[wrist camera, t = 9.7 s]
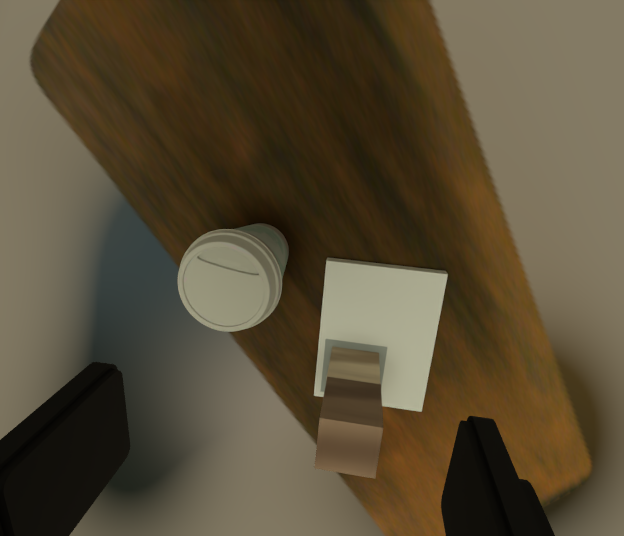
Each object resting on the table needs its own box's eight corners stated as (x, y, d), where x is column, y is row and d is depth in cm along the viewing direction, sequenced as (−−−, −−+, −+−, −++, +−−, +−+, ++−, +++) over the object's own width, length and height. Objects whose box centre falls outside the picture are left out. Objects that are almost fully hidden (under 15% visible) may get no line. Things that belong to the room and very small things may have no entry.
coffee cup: (318, 253, 42) (299, 293, 30) (263, 303, 44) (226, 357, 33) (261, 192, 41) (219, 210, 29) (207, 247, 43) (149, 283, 32)
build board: (327, 257, 42) (326, 260, 40) (445, 270, 40) (447, 274, 39) (315, 389, 46) (313, 395, 45) (420, 405, 45) (421, 412, 44)
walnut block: (327, 376, 37) (319, 417, 32) (380, 384, 37) (383, 427, 31) (322, 421, 39) (314, 468, 33) (374, 429, 38) (374, 478, 33)
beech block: (332, 346, 43) (326, 377, 37) (378, 352, 43) (380, 384, 37) (328, 386, 45) (322, 421, 39) (373, 392, 44) (373, 429, 38)
